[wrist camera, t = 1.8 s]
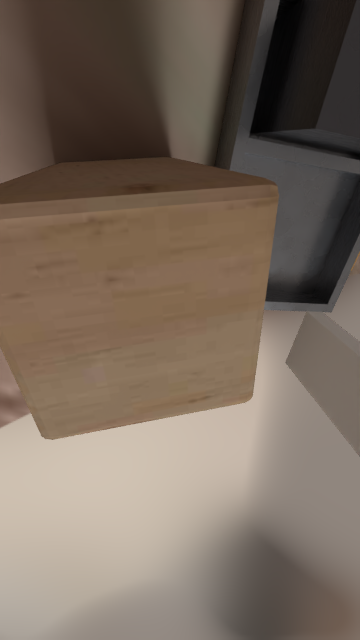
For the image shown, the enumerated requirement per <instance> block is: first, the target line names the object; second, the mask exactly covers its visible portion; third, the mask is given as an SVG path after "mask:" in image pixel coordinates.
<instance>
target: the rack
mask: <svg viewBox="0 0 360 640" xmlns="http://www.w3.org/2000/svg"><path fill="white" fill-rule="evenodd" d="M215 167H217V168H221V169H226V170H230V171H235V172H240V173H244V174H249V175H253V176H258V177H263V178H266V179H269V180H271V181H273V182H275V183H276V184H277V187H278V193H279V200H278V207H277V215H276V223H275V230H274V238H273V245H272V253H271V260H270V268H269V276H268V283H267V291H266V298H265V306H264V310H286V311H313V312H332V310H333V308H334V306H335V303H336V301H337V299H338V297H339V295H340V293H341V291H342V289H343V287H344V284H345V282H346V280H347V278H348V276H349V274H350V272H351V271H352V269H353V267H354V264H355V262H356V260H357V258H358V256H359V254H360V0H245V6H244V11H243V16H242V22H241V27H240V33H239V38H238V43H237V49H236V54H235V60H234V65H233V70H232V76H231V81H230V86H229V92H228V97H227V103H226V108H225V113H224V119H223V124H222V130H221V135H220V140H219V146H218V151H217V157H216V162H215Z"/></svg>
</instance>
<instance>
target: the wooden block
mask: <svg viewBox="0 0 360 640" xmlns="http://www.w3.org/2000/svg"><path fill="white" fill-rule="evenodd" d="M278 200H279V193H278V187H277V184H276V183H275V182H273V181H271V180H269V179H266V178H263V177H258V176H253V175H249V174H244V173H240V172H235V171H230V170H226V169H221V168H217V167H212V166H207V165H203V164H198V163H194V162H189V161H185V160H180V159H175V158H171V157H155V158H137V159H119V160H101V161H82V162H64V163H58V164H55V165H52V166H49V167H47V168H44V169H41V170H38V171H35V172H32V173H29V174H27V175H24V176H21V177H18V178H15V179H12V180H10V181H7V182H4V183H1V184H0V347H1V349H2V352H3V354H4V356H5V358H6V360H7V362H8V365H9V367H10V369H11V371H12V373H13V375H14V377H15V380H16V382H17V384H18V386H19V388H20V390H21V393H22V395H23V397H24V399H25V401H26V403H27V405H28V408H29V410H30V412H31V414H32V416H33V418H34V421H35V422H36V425H37V427H38V429H39V431H40V433H41V436H42V437H44V438H45V439H52V440H53V439H58V438H64V437H68V436H74V435H79V434H84V433H90V432H94V431H100V430H105V429H110V428H116V427H121V426H126V425H131V424H136V423H142V422H146V421H152V420H157V419H162V418H167V417H173V416H178V415H183V414H188V413H194V412H199V411H204V410H209V409H214V408H219V407H225V406H230V405H235V404H240V403H245V402H247V401H249V400H250V399H251V398H252V396H253V389H254V381H255V373H256V366H257V359H258V351H259V343H260V336H261V328H262V320H263V313H264V306H265V298H266V291H267V283H268V276H269V268H270V260H271V253H272V245H273V238H274V230H275V223H276V215H277V207H278Z"/></svg>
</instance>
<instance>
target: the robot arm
mask: <svg viewBox="0 0 360 640" xmlns="http://www.w3.org/2000/svg"><path fill="white" fill-rule="evenodd" d="M286 364H287V365H288V366H289V368H290V369H291V370H292V372H293V373H294V374H295V375H296V377H297V378H298V379H299V380H300V382H301V383H302V384H303V385H304V387H305V388H306V389H307V391H308V392H309V393H310V394H311V396H312V397H313V398H314V399H315V401H316V402H317V403H318V404H319V406H320V407H321V408H322V409H323V411H324V412H325V413H326V415H327V416H328V417H329V418H330V420H331V421H332V422H333V423H334V425H335V426H336V427H337V429H338V430H339V431H340V432H341V434H342V435H343V436H344V437H345V439H346V440H347V441H348V442H349V444H350V445H351V446H352V447H353V449H354V450H355V451H356V453H357V454H358V455H359V456H360V342H359V341H358V340H357V339H356V338H354V337H353V336H352V335H351V334H349V333H348V332H347V331H346V330H344V329H343V328H342V327H340V326H339V325H338V324H336V323H335V322H334V321H333V320H331V319H330V318H329V317H328V316H327V315H325V314H324V313H323V312H313V311H307V312H306V315H305V317H304V319H303V322H302V324H301V327H300V329H299V331H298V334H297V336H296V338H295V341H294V343H293V346H292V348H291V350H290V353H289V355H288V358H287V360H286Z"/></svg>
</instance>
